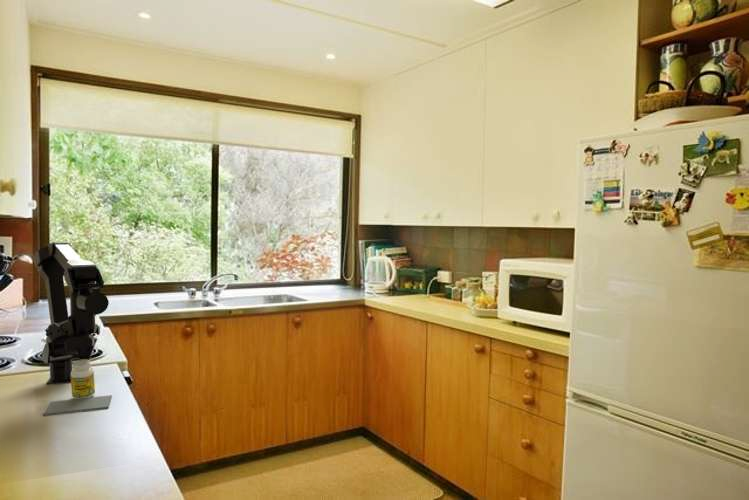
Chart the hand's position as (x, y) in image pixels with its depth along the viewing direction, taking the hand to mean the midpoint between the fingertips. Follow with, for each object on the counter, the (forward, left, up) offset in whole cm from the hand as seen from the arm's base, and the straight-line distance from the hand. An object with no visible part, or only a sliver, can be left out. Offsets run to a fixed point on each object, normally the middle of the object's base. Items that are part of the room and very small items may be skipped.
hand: (84, 367), depth 137 cm
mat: (+9, 0, -8) cm, 12 cm away
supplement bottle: (+1, 0, -7) cm, 8 cm away
